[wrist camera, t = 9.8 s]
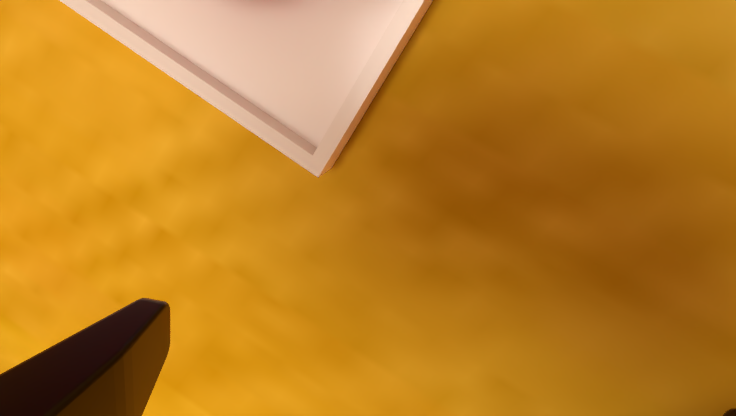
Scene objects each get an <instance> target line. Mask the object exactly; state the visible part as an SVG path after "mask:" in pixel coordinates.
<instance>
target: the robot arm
mask: <svg viewBox="0 0 736 416" xmlns="http://www.w3.org/2000/svg"><path fill="white" fill-rule="evenodd" d="M169 346H170V307H169V304H168V303H166V302H164V301H159V300H154V299H149V298H141V299H139V300H136V301H135V302H133V303H131V304H129V305H127V306H125V307H124V308H122V309H120V310H118V311H116V312H114V313H113V314H111V315H109V316H107V317H105V318H103V319H101V320H100V321H98V322H96V323H94V324H92V325H90V326H89V327H87V328H85V329H83V330H81V331H79V332H77V333H76V334H74V335H72V336H70V337H68V338H66V339H65V340H63V341H61V342H59V343H57V344H55V345H54V346H52V347H50V348H48V349H46V350H44V351H42V352H41V353H39V354H37V355H35V356H33V357H31V358H30V359H28V360H26V361H24V362H22V363H20V364H18V365H17V366H15V367H13V368H11V369H9V370H7V371H6V372H4V373H2V374H0V416H142V414H143V412H144V409H145V407H146V404H147V402H148V400H149V397H150V395H151V393H152V390H153V388H154V386H155V383H156V381H157V378H158V376H159V374H160V371H161V369H162V367H163V364H164V362H165V359H166V357H167V354H168V351H169ZM723 416H736V409H730V410H728V411H726V412H725V413H724V414H723Z"/></svg>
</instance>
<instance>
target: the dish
mask: <svg viewBox="0 0 736 416" xmlns="http://www.w3.org/2000/svg"><path fill="white" fill-rule="evenodd" d="M60 1H61V2H63V3H64V4H66V5H67V6H69V7H70V8H71V9H73V10H74V11H76V12H77V13H79V14H80V15H82V16H83V17H85V18H86V19H87V20H89V21H90V22H92V23H93V24H95V25H96V26H98V27H99V28H101V29H102V30H104V31H105V32H106V33H108V34H109V35H111V36H112V37H114V38H115V39H117V40H118V41H120V42H121V43H122V44H124V45H125V46H127V47H128V48H130V49H131V50H133V51H134V52H136V53H137V54H139V55H140V56H141V57H143V58H144V59H146V60H147V61H149V62H150V63H152V64H153V65H155V66H156V67H157V68H159V69H160V70H162V71H163V72H165V73H166V74H168V75H169V76H171V77H172V78H174V79H175V80H176V81H178V82H179V83H181V84H182V85H184V86H185V87H187V88H188V89H190V90H191V91H193V92H194V93H195V94H197V95H198V96H200V97H201V98H203V99H204V100H206V101H207V102H209V103H210V104H211V105H213V106H214V107H216V108H217V109H219V110H220V111H222V112H223V113H225V114H226V115H228V116H229V117H230V118H232V119H233V120H235V121H236V122H238V123H239V124H241V125H242V126H244V127H245V128H246V129H248V130H249V131H251V132H252V133H254V134H255V135H257V136H258V137H260V138H261V139H263V140H264V141H265V142H267V143H268V144H270V145H271V146H273V147H274V148H276V149H277V150H279V151H280V152H282V153H283V154H284V155H286V156H287V157H289V158H290V159H292V160H293V161H295V162H296V163H298V164H299V165H300V166H302V167H303V168H305V169H306V170H308V171H309V172H311V173H312V174H314V175H315V176H317V177H320V176H321V175H323V174H324V173H326V172H327V171H328V170H330V169H331V168H332V167H333V165H334V163H335V162H336V160H337V158H338V157H339V155H340V153H341V152H342V150H343V148H344V147H345V145H346V143H347V142H348V140H349V138H350V137H351V135H352V133H353V132H354V130H355V129H356V127H357V125H358V124H359V122H360V120H361V119H362V117H363V115H364V114H365V112H366V110H367V109H368V107H369V105H370V104H371V102H372V100H373V99H374V97H375V96H376V94H377V92H378V91H379V89H380V87H381V86H382V84H383V82H384V81H385V79H386V77H387V76H388V74H389V72H390V71H391V69H392V67H393V66H394V64H395V62H396V61H397V59H398V58H399V56H400V54H401V53H402V51H403V49H404V48H405V46H406V44H407V43H408V41H409V39H410V38H411V36H412V34H413V33H414V31H415V29H416V28H417V26H418V25H419V23H420V21H421V20H422V18H423V16H424V15H425V13H426V11H427V10H428V8H429V6H430V5H431V3H432V1H433V0H60Z"/></svg>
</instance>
